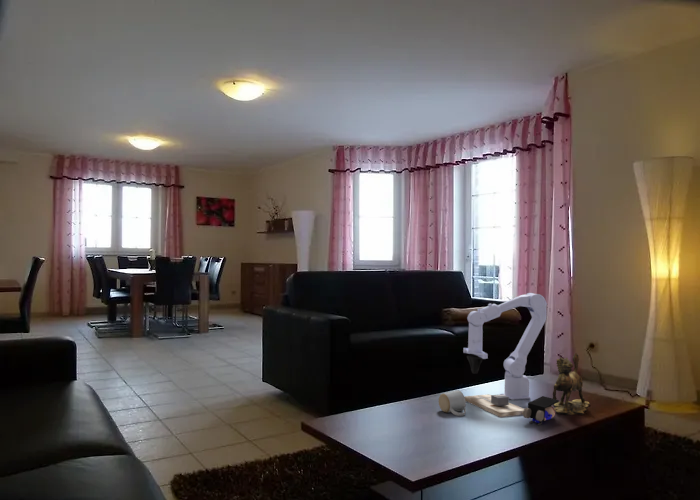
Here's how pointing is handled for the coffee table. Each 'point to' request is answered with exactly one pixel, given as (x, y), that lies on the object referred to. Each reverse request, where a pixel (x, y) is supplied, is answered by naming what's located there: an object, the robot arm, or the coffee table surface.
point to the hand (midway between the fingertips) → (474, 373)
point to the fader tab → (500, 400)
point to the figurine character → (540, 409)
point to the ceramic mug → (453, 402)
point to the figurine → (569, 388)
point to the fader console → (494, 406)
